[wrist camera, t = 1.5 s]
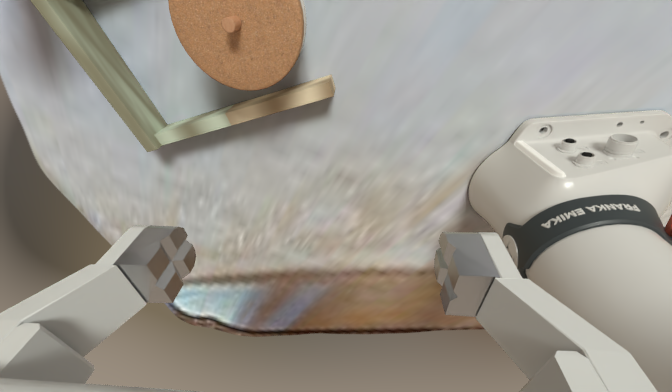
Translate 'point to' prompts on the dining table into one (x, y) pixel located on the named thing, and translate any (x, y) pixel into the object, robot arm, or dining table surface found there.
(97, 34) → the bay
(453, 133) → the dining table surface
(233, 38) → the lidded jar
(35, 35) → the dining table surface
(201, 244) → the dining table surface
